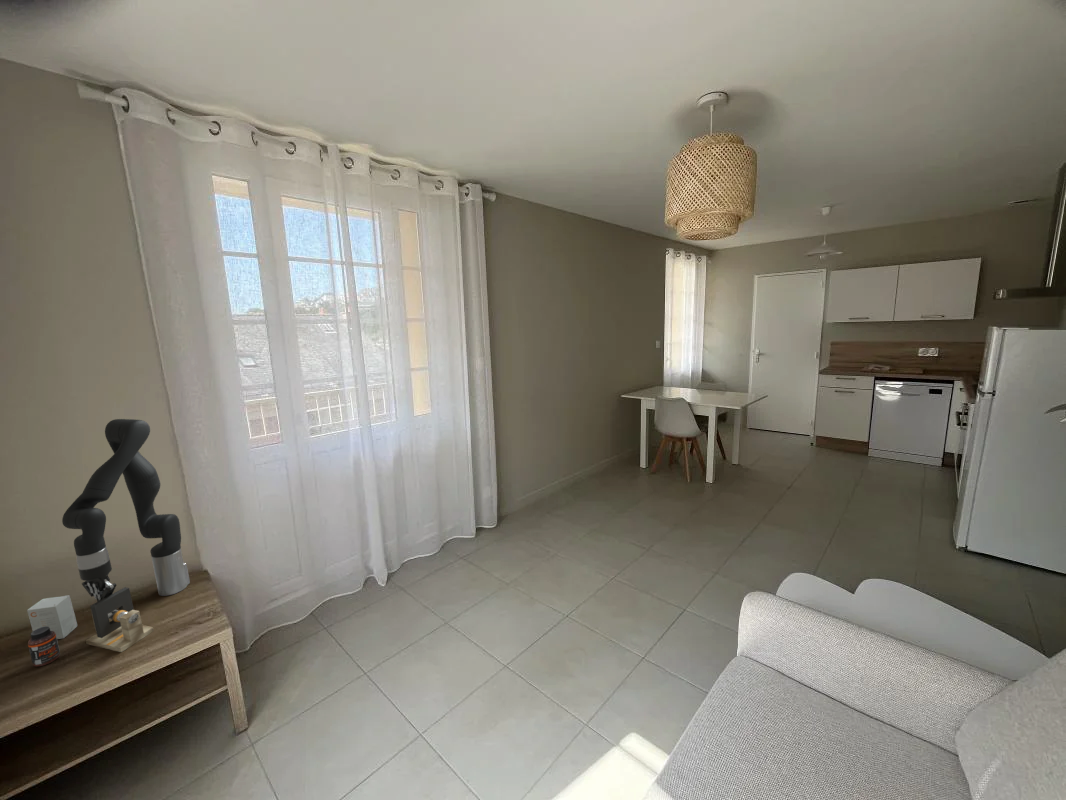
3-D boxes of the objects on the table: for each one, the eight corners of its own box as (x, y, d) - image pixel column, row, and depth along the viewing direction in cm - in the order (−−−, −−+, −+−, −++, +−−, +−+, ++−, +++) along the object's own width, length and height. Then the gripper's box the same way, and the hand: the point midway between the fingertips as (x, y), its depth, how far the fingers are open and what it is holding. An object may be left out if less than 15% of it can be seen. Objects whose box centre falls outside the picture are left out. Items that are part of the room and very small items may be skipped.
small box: (78, 626, 151) (70, 594, 149) (63, 638, 145) (55, 606, 143) (50, 629, 149) (42, 598, 147) (34, 643, 143) (25, 610, 141)
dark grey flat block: (131, 616, 150) (124, 587, 148) (135, 617, 150) (129, 588, 147) (97, 637, 141) (90, 605, 138) (101, 638, 140) (94, 606, 138)
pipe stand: (120, 623, 152) (114, 597, 150) (153, 630, 149) (148, 604, 147) (86, 644, 143) (80, 616, 141) (121, 652, 139) (115, 624, 137)
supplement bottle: (41, 669, 133) (33, 638, 130) (28, 666, 134) (19, 636, 132) (65, 654, 138) (58, 625, 136) (52, 651, 139) (44, 622, 137)
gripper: (121, 558, 143) (130, 602, 147) (93, 553, 146) (103, 596, 150) (94, 571, 136) (104, 617, 140) (65, 566, 139) (76, 610, 143)
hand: (104, 606), depth 145 cm, fingers closed
